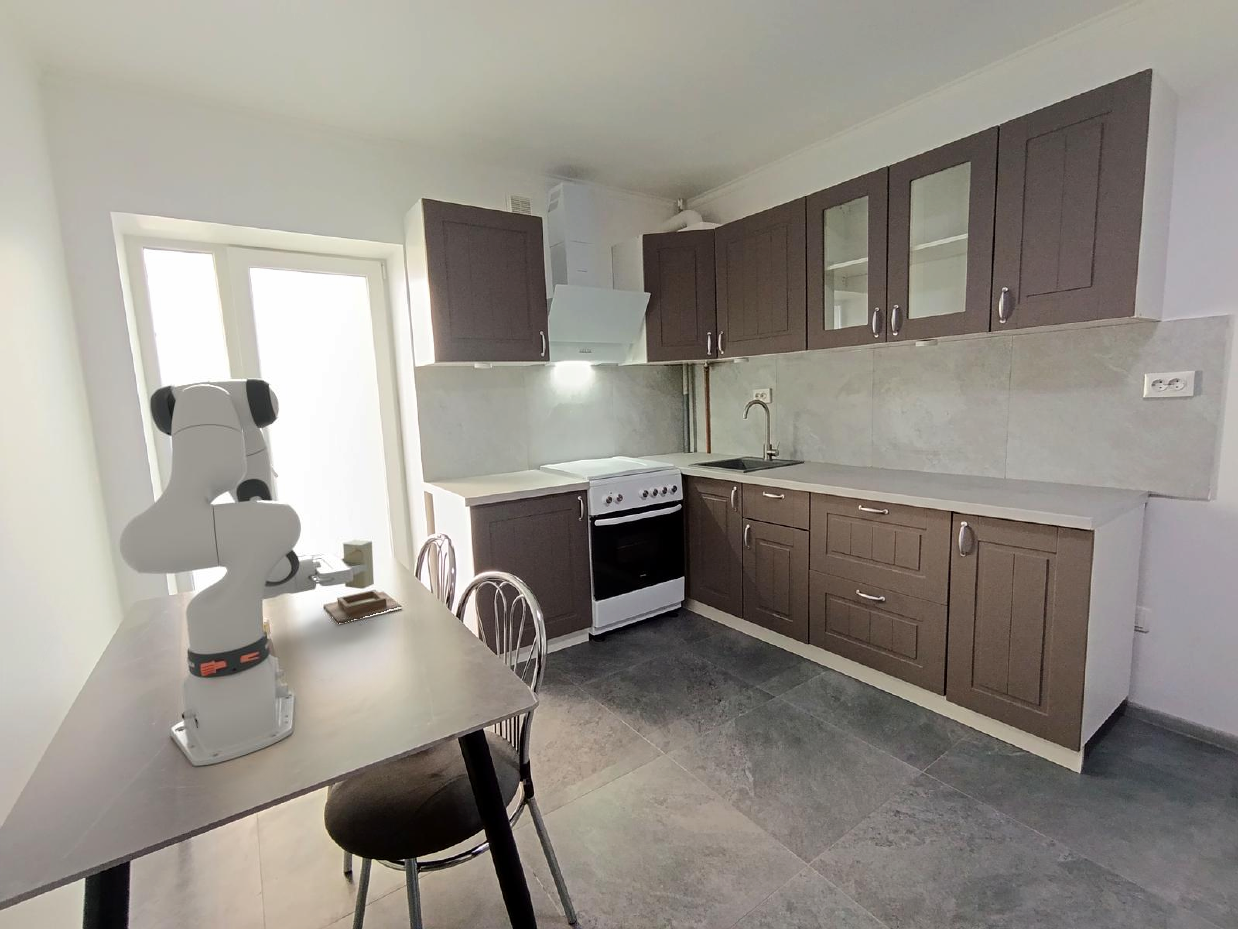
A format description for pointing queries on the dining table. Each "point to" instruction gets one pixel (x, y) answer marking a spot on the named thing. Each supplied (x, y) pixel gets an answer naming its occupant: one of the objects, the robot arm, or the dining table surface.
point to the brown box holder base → (360, 605)
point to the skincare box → (359, 562)
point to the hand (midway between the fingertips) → (361, 563)
